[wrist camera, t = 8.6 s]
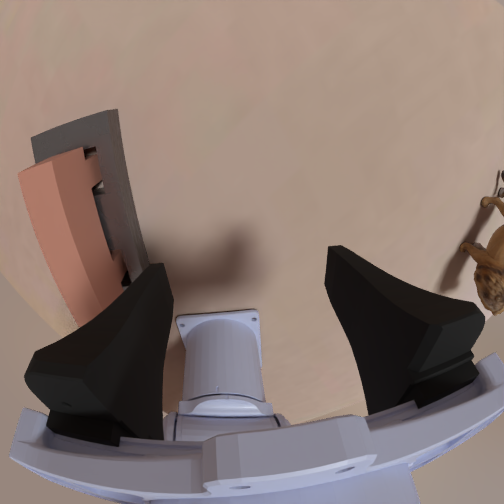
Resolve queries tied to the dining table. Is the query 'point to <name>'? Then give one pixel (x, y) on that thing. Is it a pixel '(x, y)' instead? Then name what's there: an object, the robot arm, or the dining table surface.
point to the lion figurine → (490, 262)
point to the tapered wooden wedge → (73, 232)
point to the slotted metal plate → (114, 180)
